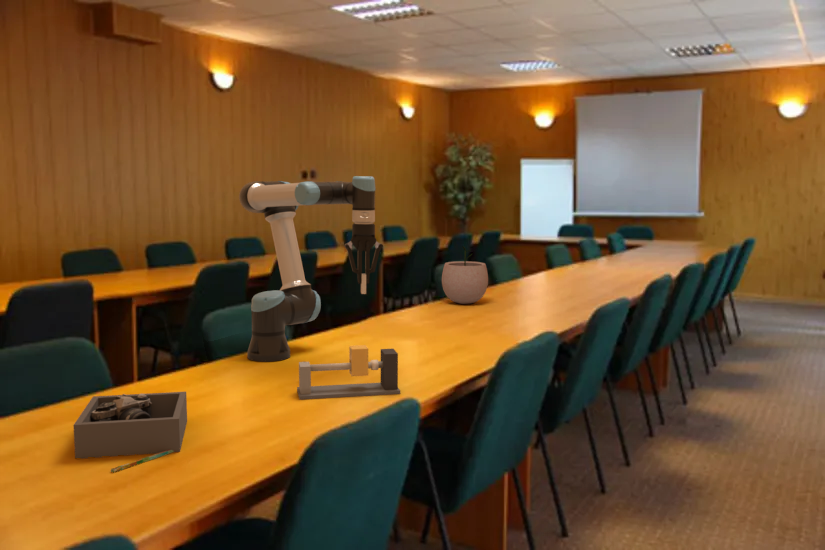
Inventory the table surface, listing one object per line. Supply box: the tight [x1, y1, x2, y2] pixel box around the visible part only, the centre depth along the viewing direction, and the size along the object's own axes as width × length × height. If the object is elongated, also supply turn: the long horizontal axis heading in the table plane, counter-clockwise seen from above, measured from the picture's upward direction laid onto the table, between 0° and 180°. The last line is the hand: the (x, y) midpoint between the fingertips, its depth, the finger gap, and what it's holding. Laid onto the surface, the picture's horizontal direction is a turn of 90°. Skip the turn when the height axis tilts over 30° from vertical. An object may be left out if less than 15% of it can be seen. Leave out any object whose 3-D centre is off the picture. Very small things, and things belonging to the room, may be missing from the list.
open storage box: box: [72, 391, 188, 459], centre depth 185 cm, size 23×23×8 cm
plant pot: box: [441, 245, 489, 305], centre depth 387 cm, size 24×24×30 cm
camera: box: [91, 393, 152, 422], centre depth 186 cm, size 16×10×10 cm, turn 144°
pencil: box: [110, 450, 175, 474], centre depth 171 cm, size 1×1×18 cm
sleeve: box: [348, 344, 369, 377], centre depth 226 cm, size 5×5×8 cm
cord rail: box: [296, 348, 401, 400], centre depth 226 cm, size 30×10×12 cm, turn 103°
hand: (363, 293), depth 252 cm, fingers closed
